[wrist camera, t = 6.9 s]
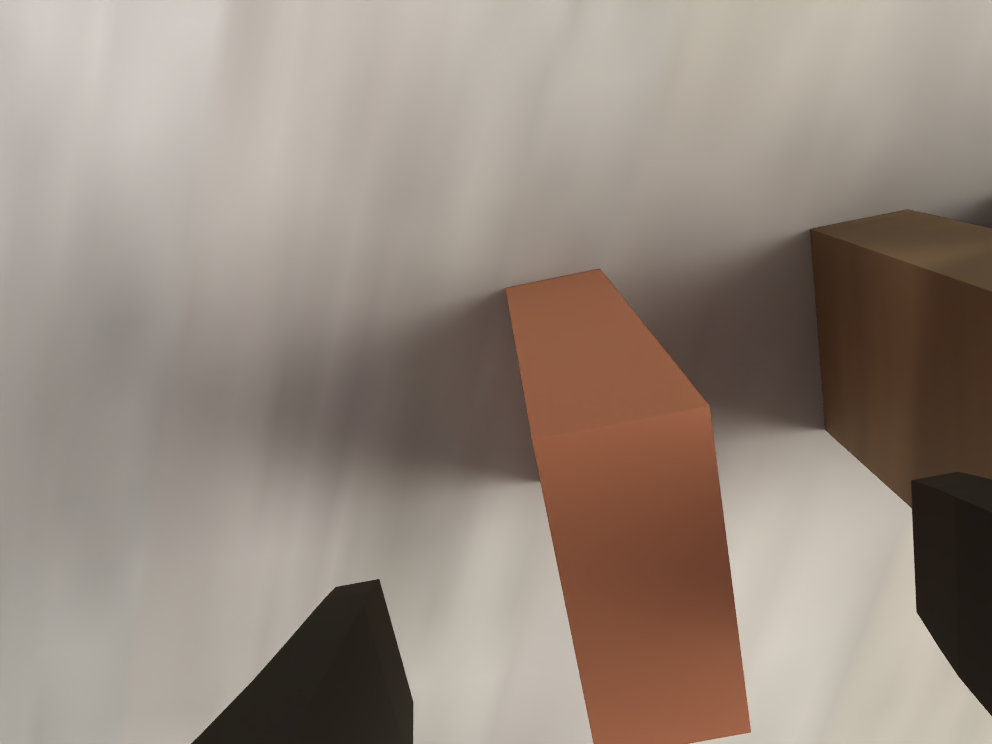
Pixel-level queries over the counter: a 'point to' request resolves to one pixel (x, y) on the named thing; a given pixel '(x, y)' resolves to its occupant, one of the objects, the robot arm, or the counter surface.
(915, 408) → the domino
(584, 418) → the domino
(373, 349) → the counter surface
